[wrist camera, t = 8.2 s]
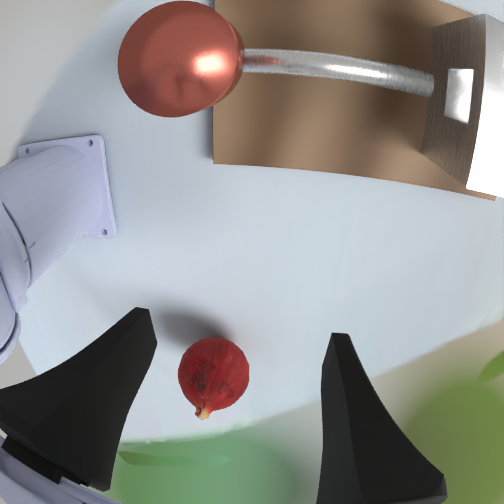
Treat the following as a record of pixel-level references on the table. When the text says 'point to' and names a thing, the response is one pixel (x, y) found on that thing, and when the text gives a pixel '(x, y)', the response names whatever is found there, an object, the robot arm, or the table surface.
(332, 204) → the table surface
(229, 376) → the onion
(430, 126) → the grey rectangular block
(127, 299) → the table surface
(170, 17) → the red knob lever
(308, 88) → the board
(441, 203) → the table surface
